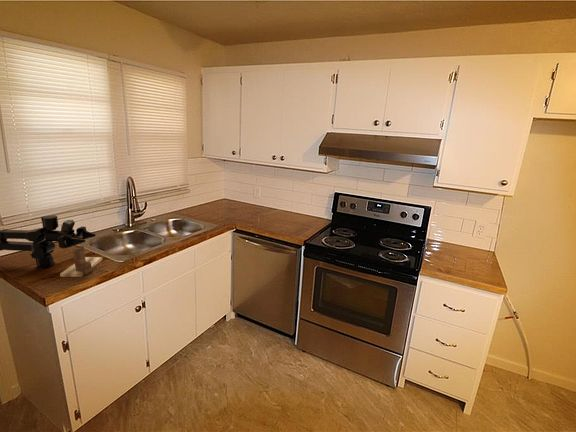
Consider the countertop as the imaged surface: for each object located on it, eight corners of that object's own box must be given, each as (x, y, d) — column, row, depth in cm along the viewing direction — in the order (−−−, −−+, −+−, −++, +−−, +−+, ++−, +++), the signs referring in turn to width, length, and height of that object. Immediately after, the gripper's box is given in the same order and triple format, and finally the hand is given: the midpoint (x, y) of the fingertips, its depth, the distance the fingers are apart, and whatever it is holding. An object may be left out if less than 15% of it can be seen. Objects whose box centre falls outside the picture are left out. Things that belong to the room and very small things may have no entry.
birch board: (60, 276, 153) (59, 273, 153) (83, 259, 172) (83, 256, 172) (81, 276, 154) (81, 273, 153) (102, 259, 173) (102, 257, 173)
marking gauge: (74, 274, 155) (69, 249, 151) (79, 270, 160) (75, 245, 156) (86, 274, 155) (82, 249, 152) (91, 270, 160) (88, 245, 156)
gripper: (44, 226, 148) (78, 228, 149) (69, 216, 166) (99, 218, 167) (46, 248, 151) (80, 249, 152) (70, 236, 169) (100, 238, 170)
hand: (90, 238), depth 160 cm, fingers open, 9 cm apart
